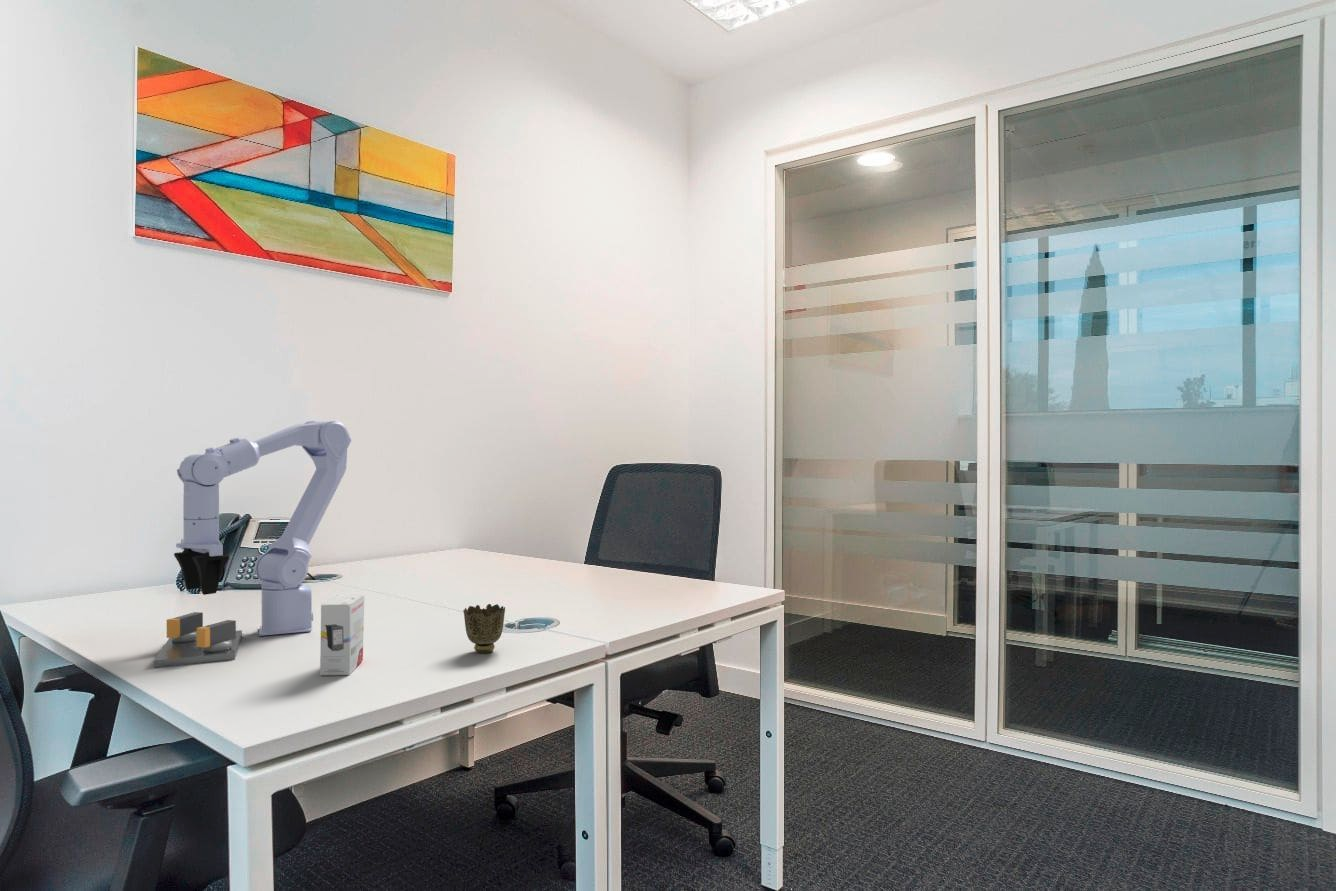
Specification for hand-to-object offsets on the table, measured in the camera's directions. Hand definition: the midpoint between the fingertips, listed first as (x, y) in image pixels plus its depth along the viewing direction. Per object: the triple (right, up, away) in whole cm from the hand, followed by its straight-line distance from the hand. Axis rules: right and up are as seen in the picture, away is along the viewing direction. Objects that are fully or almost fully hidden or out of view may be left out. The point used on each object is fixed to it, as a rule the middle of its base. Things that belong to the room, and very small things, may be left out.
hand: (201, 591), depth 147 cm
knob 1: (-3, -9, 0) cm, 10 cm away
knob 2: (+7, -9, -6) cm, 13 cm away
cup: (+54, -11, -3) cm, 55 cm away
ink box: (+32, -11, -14) cm, 37 cm away
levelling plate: (+2, -10, -3) cm, 11 cm away
